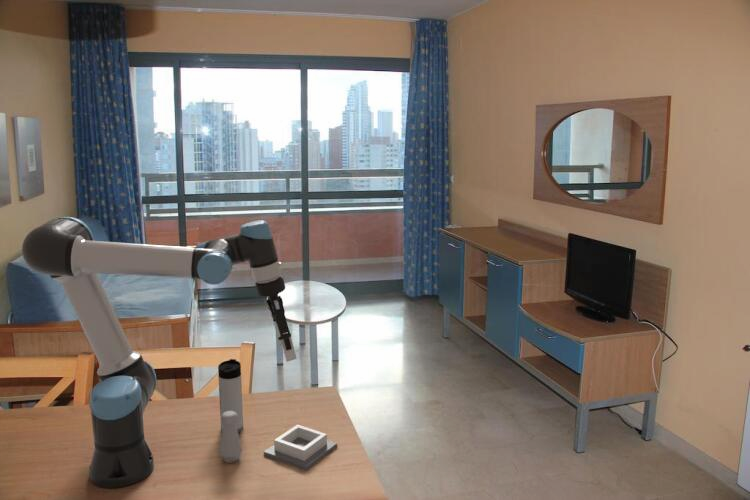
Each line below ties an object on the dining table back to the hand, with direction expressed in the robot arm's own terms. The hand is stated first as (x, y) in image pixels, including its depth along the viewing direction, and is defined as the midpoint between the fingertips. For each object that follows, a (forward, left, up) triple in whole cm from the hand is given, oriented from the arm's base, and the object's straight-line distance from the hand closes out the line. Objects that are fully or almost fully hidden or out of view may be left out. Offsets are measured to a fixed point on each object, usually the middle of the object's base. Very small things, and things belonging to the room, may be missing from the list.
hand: (287, 351), depth 175 cm
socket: (+8, -5, -25) cm, 27 cm away
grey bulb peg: (-5, -18, -25) cm, 31 cm away
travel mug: (-16, -6, -25) cm, 31 cm away
